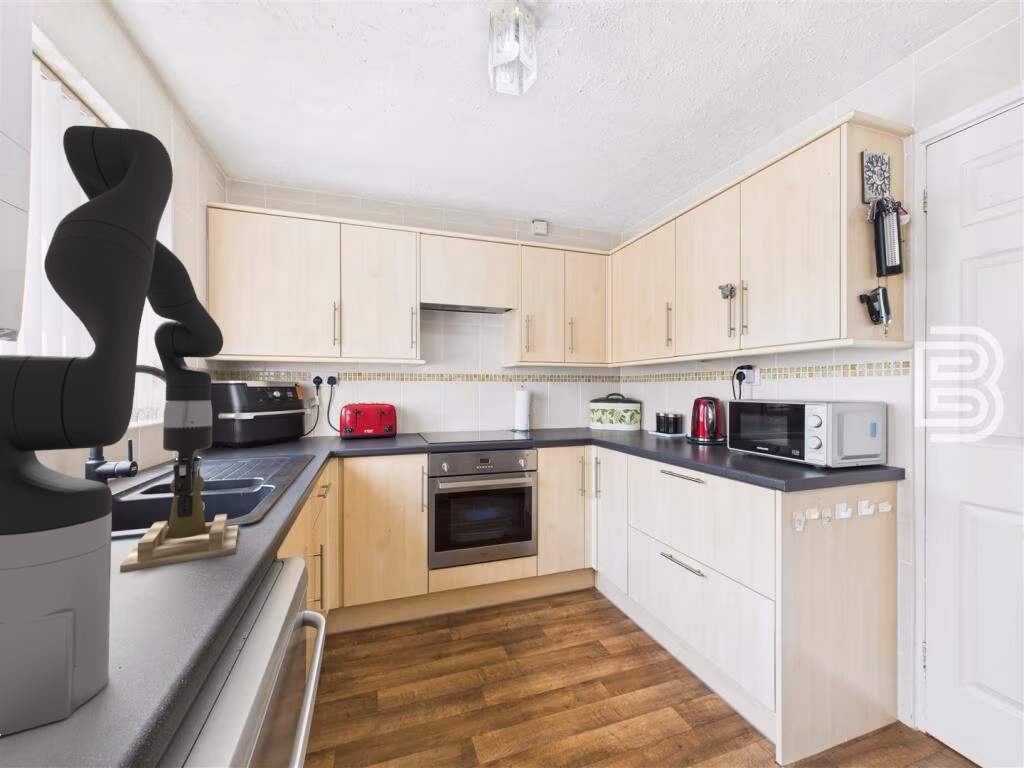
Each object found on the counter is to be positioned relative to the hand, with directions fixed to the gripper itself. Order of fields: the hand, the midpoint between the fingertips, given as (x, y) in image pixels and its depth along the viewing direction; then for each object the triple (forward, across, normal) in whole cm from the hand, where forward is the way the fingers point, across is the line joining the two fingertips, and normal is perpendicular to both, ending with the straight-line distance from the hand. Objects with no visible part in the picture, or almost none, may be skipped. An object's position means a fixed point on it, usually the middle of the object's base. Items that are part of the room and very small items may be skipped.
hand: (187, 512), depth 82 cm
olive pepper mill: (+4, 0, 0) cm, 4 cm away
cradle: (+7, 0, 0) cm, 7 cm away
